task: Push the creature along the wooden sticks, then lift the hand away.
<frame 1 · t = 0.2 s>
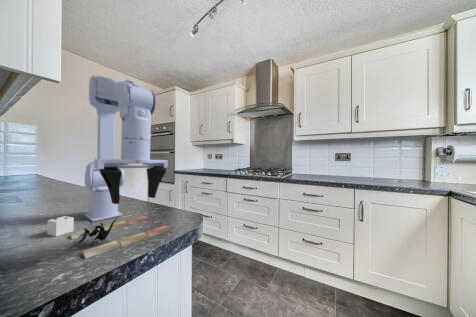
hand: (135, 200, 39), 10 cm above the countertop, tool pointing down, fingers open, 7 cm apart
creature: (92, 242, 40), on the countertop
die: (60, 232, 44), on the countertop
wooden sticks: (123, 232, 45), on the countertop
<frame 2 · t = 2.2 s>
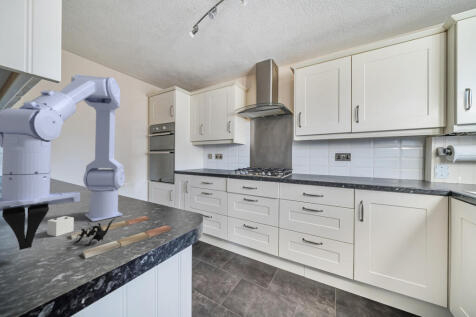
hand: (25, 247, 32), 3 cm above the countertop, tool pointing down, fingers closed
nothing on the countertop moved.
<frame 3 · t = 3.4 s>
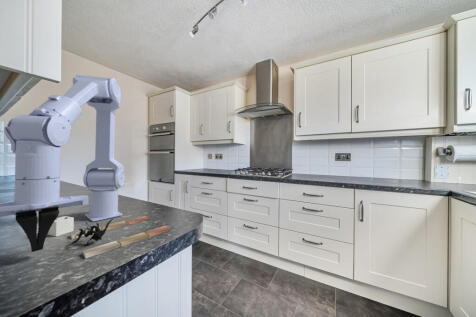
hand: (37, 249, 33), 2 cm above the countertop, tool pointing down, fingers closed
nothing on the countertop moved.
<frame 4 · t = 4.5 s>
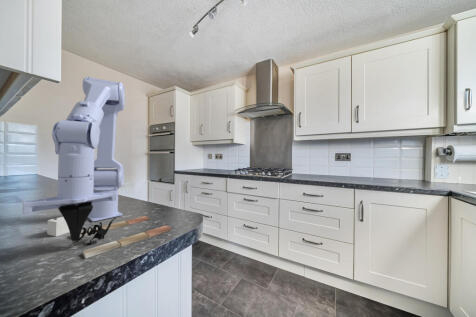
hand: (75, 239, 38), 2 cm above the countertop, tool pointing down, fingers closed
creature: (91, 241, 41), on the countertop, touching gripper
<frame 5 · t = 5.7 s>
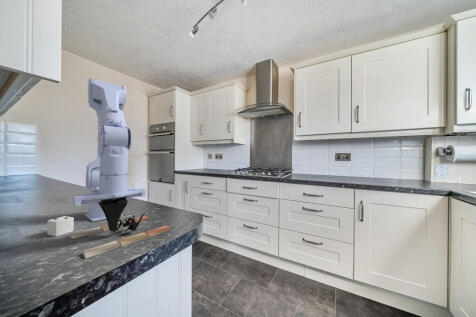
hand: (112, 229, 43), 2 cm above the countertop, tool pointing down, fingers closed
creature: (126, 232, 46), on the countertop, touching gripper
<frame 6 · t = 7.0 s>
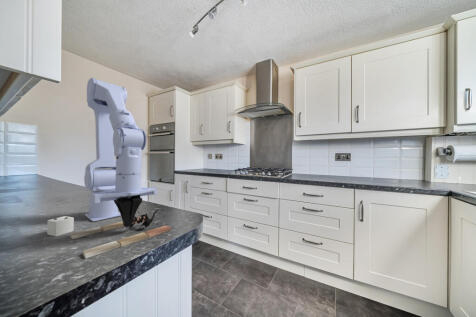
hand: (127, 225, 46), 2 cm above the countertop, tool pointing down, fingers closed
creature: (139, 228, 49), on the countertop
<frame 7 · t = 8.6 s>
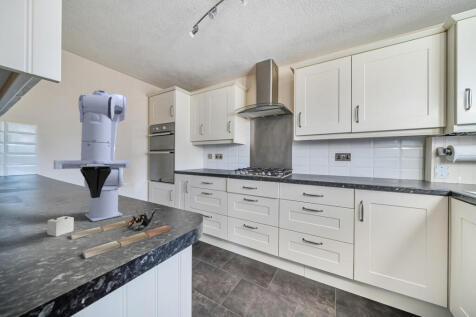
hand: (95, 197, 43), 9 cm above the countertop, tool pointing down, fingers closed
nothing on the countertop moved.
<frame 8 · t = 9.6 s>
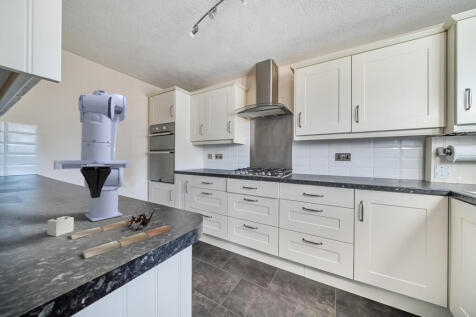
hand: (95, 197, 43), 9 cm above the countertop, tool pointing down, fingers closed
nothing on the countertop moved.
at the end: creature inside the target area (3.0 cm from its centre), on the countertop; creature tilted 0° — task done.
